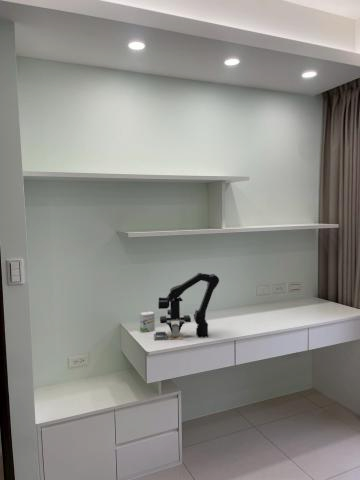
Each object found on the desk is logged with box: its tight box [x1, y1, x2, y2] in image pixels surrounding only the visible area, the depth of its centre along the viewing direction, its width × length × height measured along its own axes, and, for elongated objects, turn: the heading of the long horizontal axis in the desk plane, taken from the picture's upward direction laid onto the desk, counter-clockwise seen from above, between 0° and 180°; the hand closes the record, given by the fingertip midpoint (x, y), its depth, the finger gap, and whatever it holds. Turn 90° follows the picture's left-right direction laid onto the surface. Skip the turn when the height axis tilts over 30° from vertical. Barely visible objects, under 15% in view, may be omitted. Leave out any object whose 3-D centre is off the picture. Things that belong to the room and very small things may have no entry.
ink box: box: [139, 311, 156, 333], centre depth 240 cm, size 8×5×12 cm, turn 116°
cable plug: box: [171, 323, 180, 337], centre depth 228 cm, size 4×5×7 cm
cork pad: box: [167, 333, 184, 341], centre depth 229 cm, size 9×9×1 cm
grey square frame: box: [153, 331, 169, 341], centre depth 228 cm, size 8×9×2 cm
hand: (175, 332), depth 228 cm, fingers closed on cable plug, 4 cm apart
